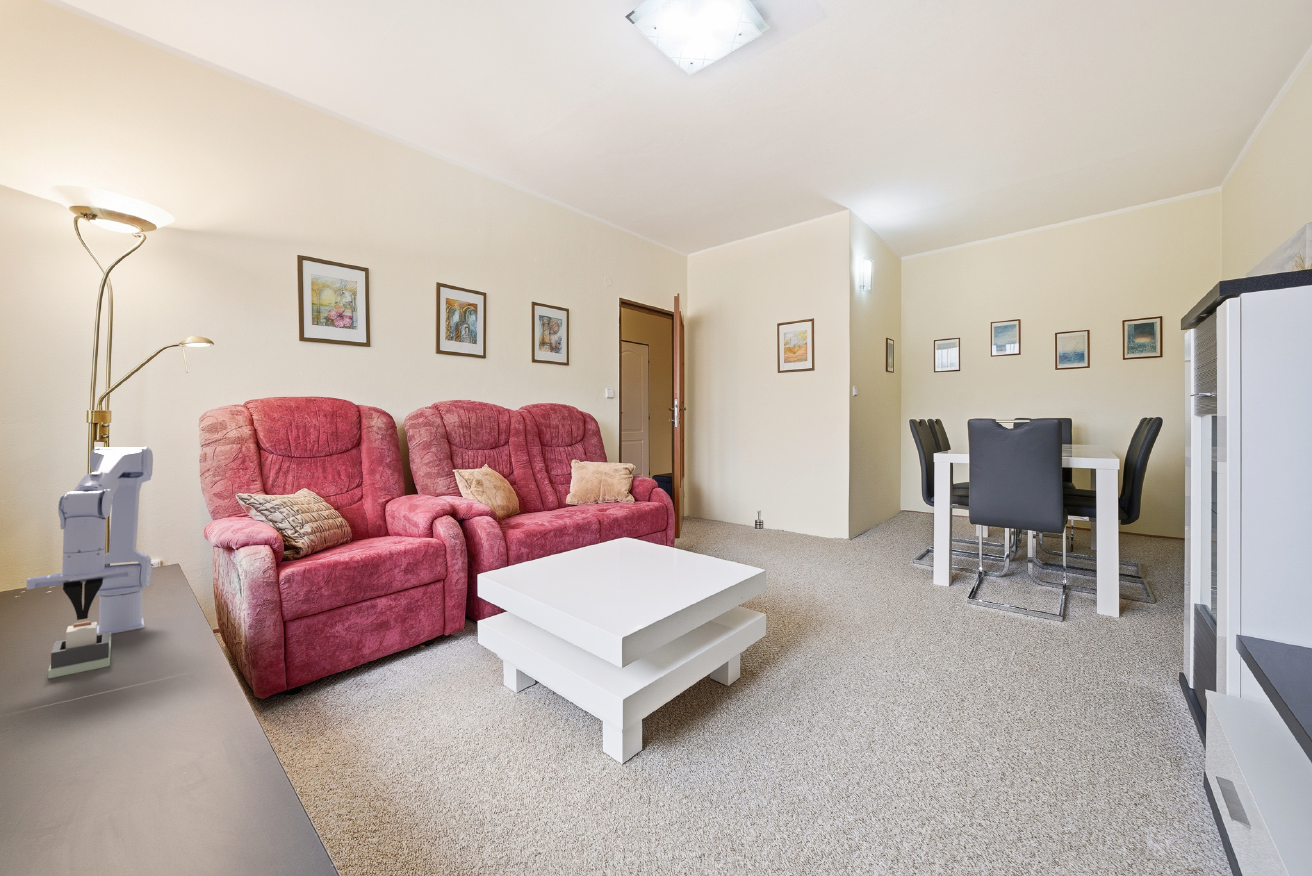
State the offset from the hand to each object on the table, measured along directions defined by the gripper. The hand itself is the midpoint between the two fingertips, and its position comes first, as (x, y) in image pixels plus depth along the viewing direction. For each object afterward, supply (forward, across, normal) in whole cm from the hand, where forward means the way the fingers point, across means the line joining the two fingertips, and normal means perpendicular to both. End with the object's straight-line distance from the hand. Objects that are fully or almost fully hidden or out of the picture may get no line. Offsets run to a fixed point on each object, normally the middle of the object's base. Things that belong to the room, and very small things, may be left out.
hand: (82, 618), depth 104 cm
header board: (+9, 0, +5) cm, 10 cm away
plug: (+8, 0, 0) cm, 8 cm away
